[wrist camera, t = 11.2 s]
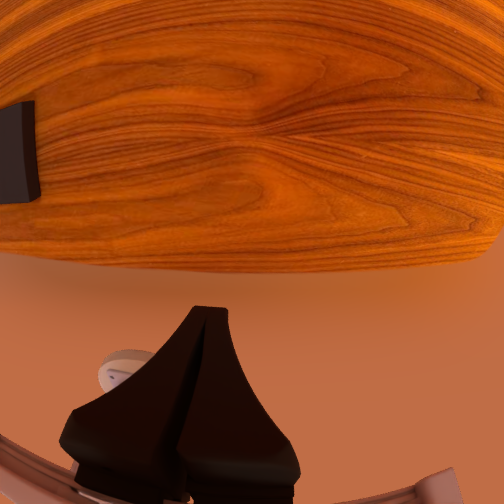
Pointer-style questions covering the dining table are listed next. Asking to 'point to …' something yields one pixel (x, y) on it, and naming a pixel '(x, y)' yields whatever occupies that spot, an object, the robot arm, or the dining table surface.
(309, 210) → the dining table surface
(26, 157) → the small pad
